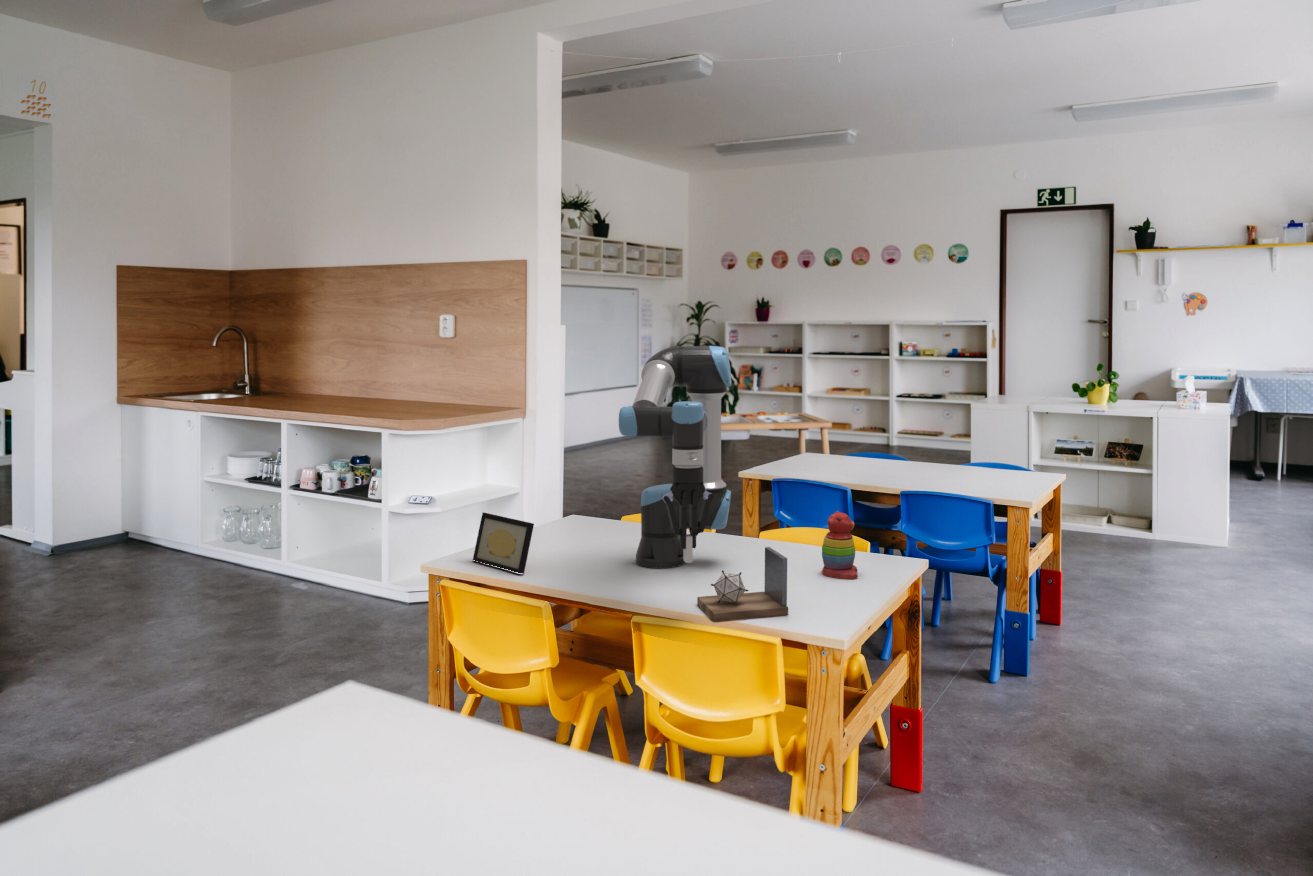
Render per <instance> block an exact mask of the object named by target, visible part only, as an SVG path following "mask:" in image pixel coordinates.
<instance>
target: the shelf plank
mask: <svg viewBox="0 0 1313 876" xmlns="http://www.w3.org/2000/svg"><path fill="white" fill-rule="evenodd" d="M696 601H697V602H696V603H697V606H698V607H699V608H700V609H701V610H702V611H703V612H704V613H705V614H706V615H707V616H708V617H709V618H710V619H711V620H712V621H713V623H717V622H727V621H739V620H748V619H749V620H750V619H759V618H770V617H771V618H772V617H784V616H789V606H788V605H787V606H781V605H780V604H778V603H777V602H776V601H775V600H773V599H772V598H771V597H769V596H768V595H767V594H766V593H765V591H754V592H744V593H743V594H742V596H741V597H740V598H739V600H738V601H737V602H736V603H737V605H736V604H735V603H733V602H725V601H720V602H719V603H718V601H719V598H718V595H717V594H716V595H705V596H697V599H696Z"/></svg>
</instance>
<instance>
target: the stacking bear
mask: <svg viewBox="0 0 1313 876" xmlns="http://www.w3.org/2000/svg"><path fill="white" fill-rule="evenodd" d="M827 526H828V530H829V531H828V532H827V533H826V535H825V536H824V538H823V543H822V545H821V557H822V563H823V568H822V571H821V572H822V574H823V576H826V577H829V578H834V579H835V578H836V579H843V580H856V579H858V576H859V574H858V573H857V572H858V568H857V566H856V565H854V562H855V558H856V546H855V541H854V537H853V534H852V533H851V531H852V530H853V529H854V527H855V522H854V521H853V520H851V518H850V517H849V515H848V514H846V513H844V512H840V511H839V510H837V511H835V512H834V513H833V514H830V515H829V517H828V519H827Z"/></svg>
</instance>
